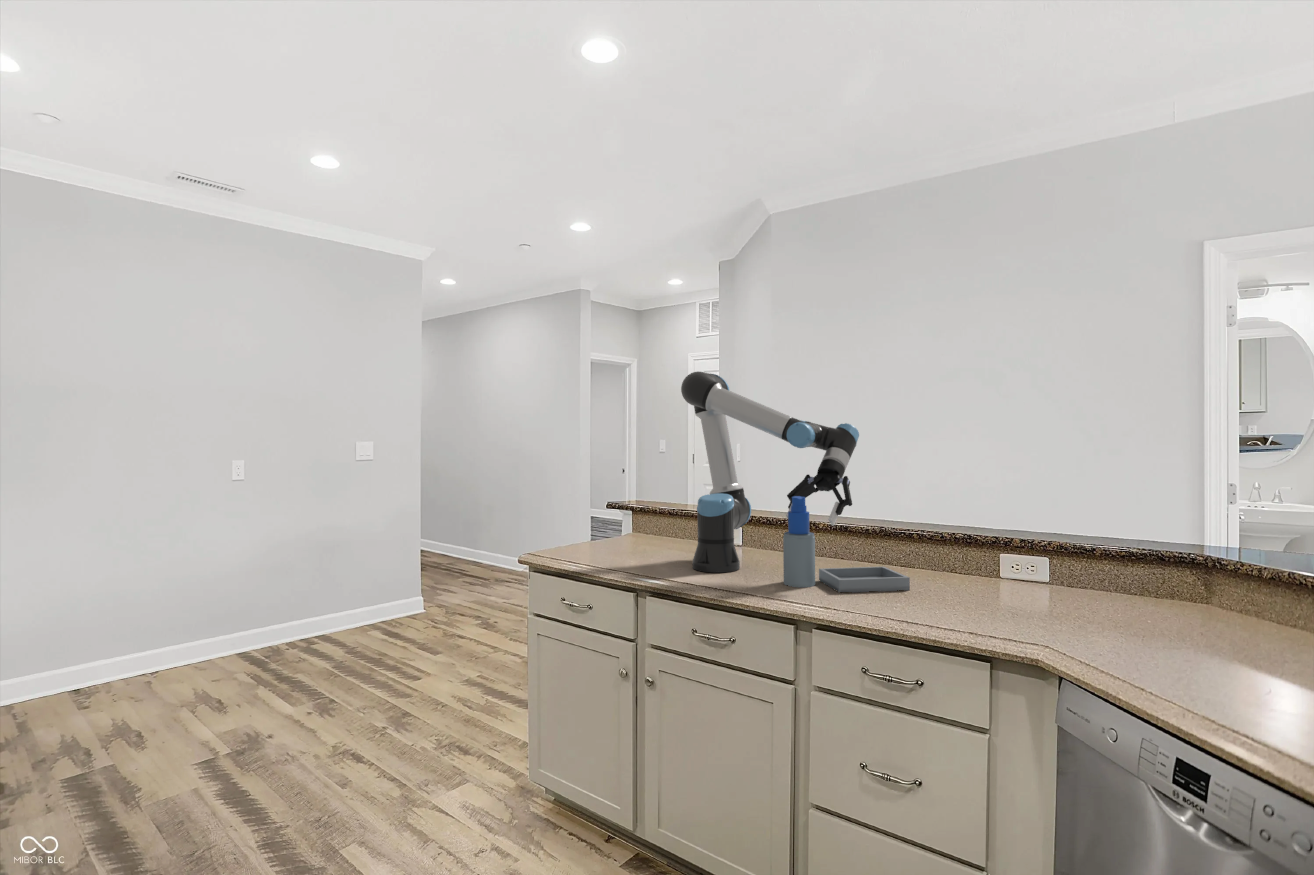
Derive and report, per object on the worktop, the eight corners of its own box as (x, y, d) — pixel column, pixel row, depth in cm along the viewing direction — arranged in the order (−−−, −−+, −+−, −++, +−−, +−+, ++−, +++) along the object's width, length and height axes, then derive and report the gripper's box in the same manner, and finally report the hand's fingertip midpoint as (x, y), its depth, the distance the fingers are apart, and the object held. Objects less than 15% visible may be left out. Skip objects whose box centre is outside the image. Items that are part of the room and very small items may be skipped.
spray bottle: (782, 580, 190) (781, 495, 190) (813, 580, 189) (812, 495, 189) (785, 587, 181) (784, 498, 181) (817, 587, 180) (816, 498, 180)
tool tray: (819, 580, 189) (818, 568, 189) (883, 578, 192) (883, 566, 192) (839, 592, 174) (839, 579, 174) (909, 590, 177) (909, 577, 177)
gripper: (876, 475, 192) (854, 532, 181) (801, 472, 208) (777, 524, 197) (868, 458, 188) (845, 515, 177) (792, 457, 204) (767, 509, 193)
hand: (809, 520), depth 187 cm, fingers open, 13 cm apart
